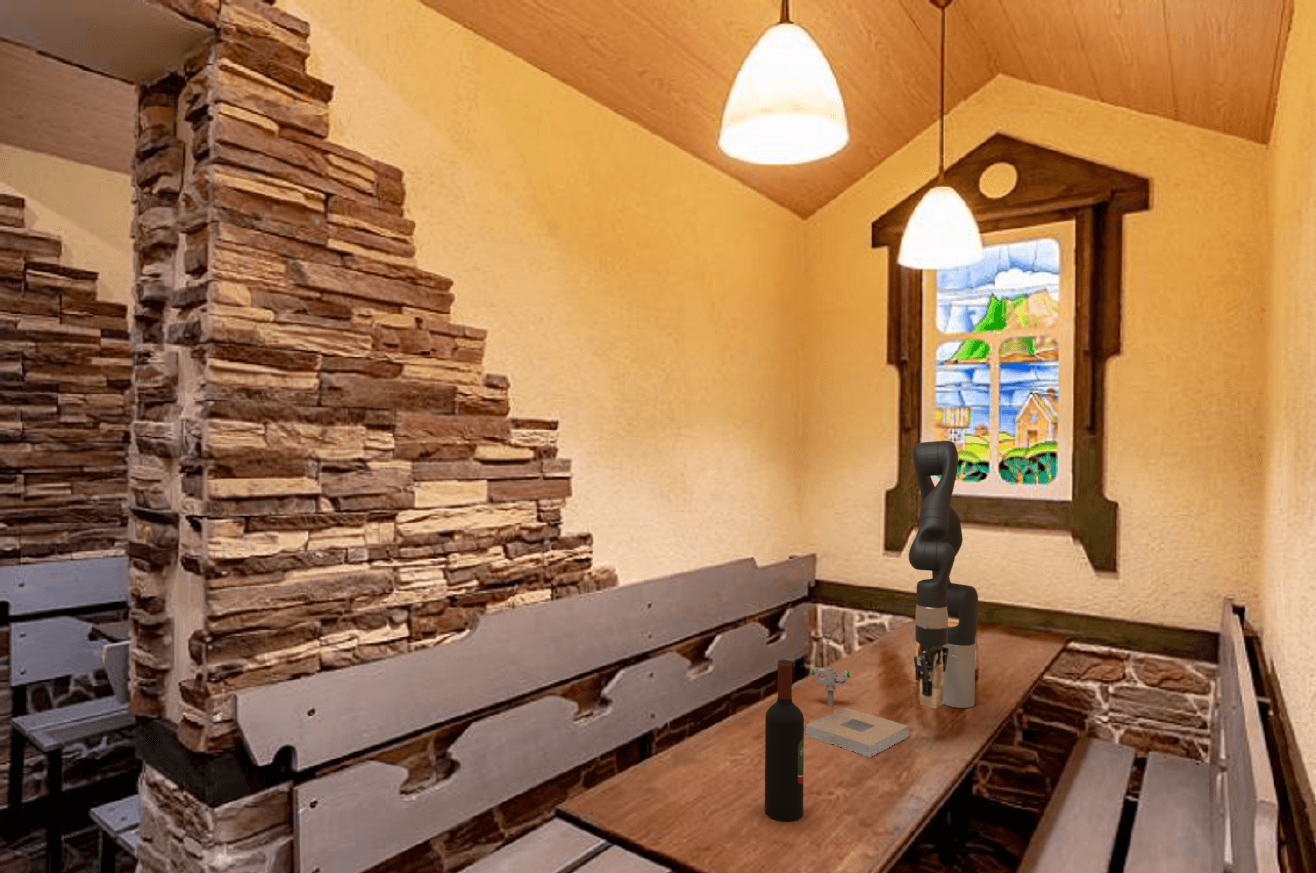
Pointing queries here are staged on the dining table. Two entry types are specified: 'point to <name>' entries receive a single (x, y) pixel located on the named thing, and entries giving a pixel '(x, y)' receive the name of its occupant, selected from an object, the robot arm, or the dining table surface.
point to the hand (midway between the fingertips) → (931, 692)
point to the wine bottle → (784, 752)
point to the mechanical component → (830, 680)
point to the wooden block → (934, 688)
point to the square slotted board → (857, 731)
